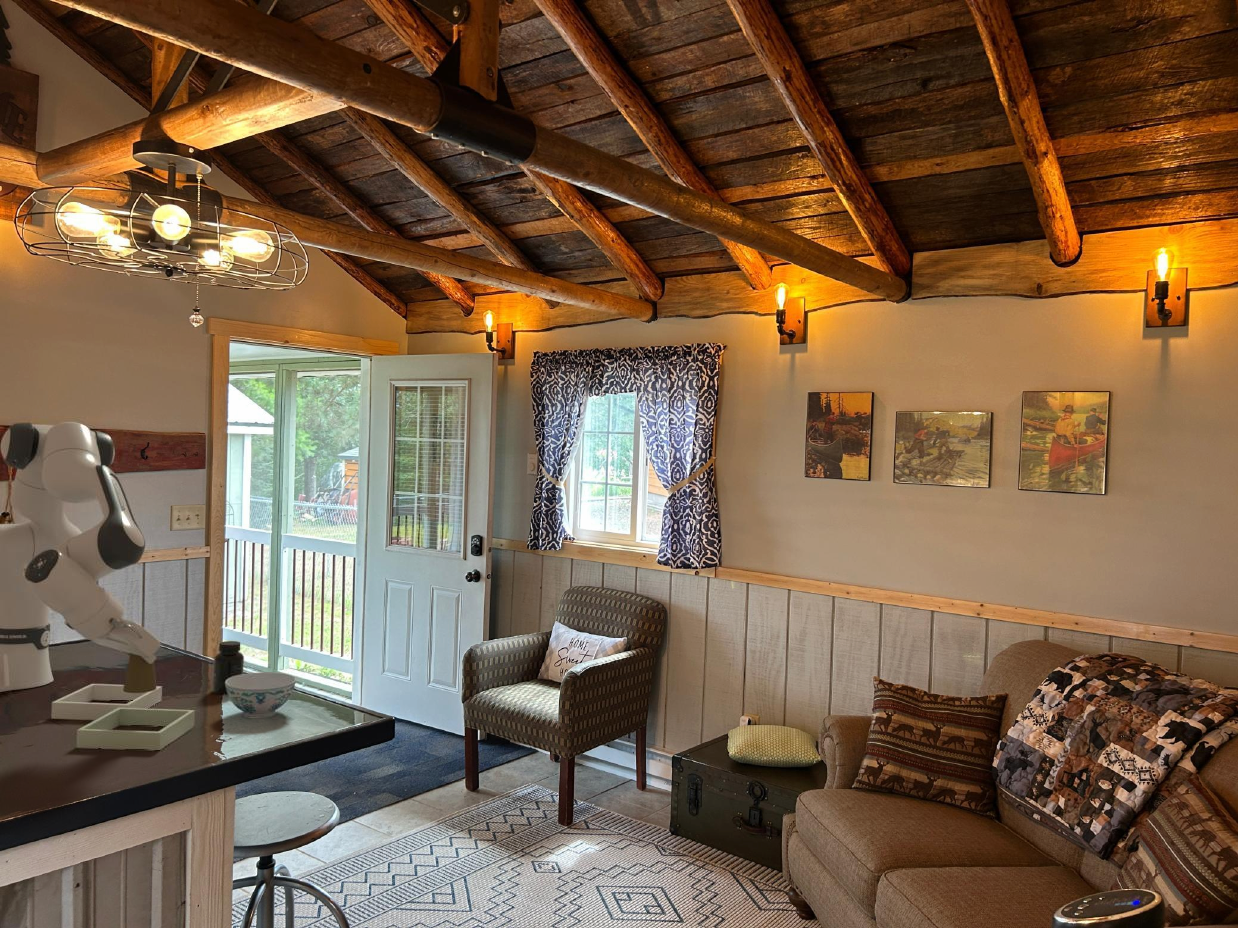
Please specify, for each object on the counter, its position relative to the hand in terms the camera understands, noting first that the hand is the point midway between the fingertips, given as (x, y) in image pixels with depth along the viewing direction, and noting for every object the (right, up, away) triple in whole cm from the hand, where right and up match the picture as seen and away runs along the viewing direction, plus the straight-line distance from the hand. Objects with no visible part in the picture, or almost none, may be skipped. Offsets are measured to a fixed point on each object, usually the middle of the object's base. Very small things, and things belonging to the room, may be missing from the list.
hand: (144, 658), depth 186 cm
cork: (-1, -6, -1) cm, 6 cm away
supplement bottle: (+1, -16, +37) cm, 40 cm away
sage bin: (-1, -16, 0) cm, 16 cm away
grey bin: (-17, -15, +17) cm, 28 cm away
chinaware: (+16, -17, +19) cm, 30 cm away
